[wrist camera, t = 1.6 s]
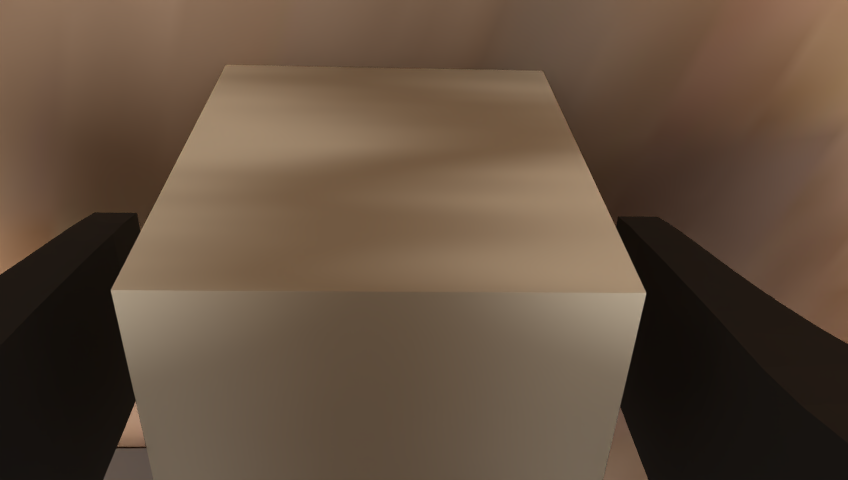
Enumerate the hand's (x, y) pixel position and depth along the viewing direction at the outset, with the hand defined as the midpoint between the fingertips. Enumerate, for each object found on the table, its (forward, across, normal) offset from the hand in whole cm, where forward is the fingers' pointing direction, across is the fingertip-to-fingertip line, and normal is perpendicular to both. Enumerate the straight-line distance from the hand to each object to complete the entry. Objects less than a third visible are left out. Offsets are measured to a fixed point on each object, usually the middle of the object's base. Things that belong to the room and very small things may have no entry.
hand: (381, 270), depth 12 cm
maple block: (+2, 0, 0) cm, 2 cm away
